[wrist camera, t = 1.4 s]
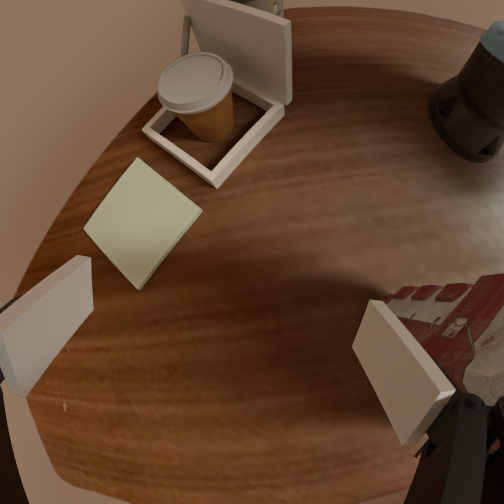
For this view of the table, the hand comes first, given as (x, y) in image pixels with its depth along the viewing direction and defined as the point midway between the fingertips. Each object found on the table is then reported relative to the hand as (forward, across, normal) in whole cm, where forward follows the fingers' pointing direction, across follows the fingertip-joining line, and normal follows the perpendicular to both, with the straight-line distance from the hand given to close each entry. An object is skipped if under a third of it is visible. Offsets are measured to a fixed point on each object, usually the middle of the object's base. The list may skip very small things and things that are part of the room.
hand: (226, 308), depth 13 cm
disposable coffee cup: (+34, -5, +11) cm, 36 cm away
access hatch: (+34, -5, +11) cm, 36 cm away
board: (+29, -14, -4) cm, 33 cm away
